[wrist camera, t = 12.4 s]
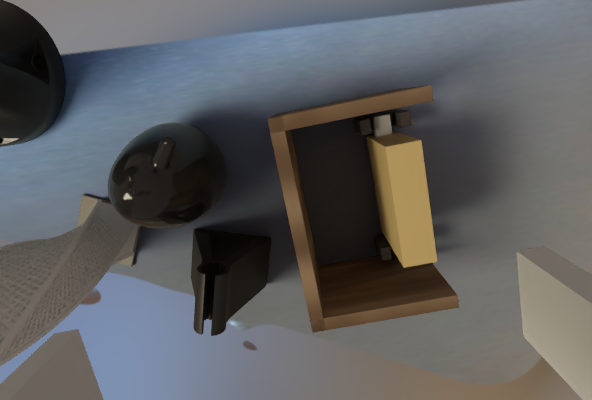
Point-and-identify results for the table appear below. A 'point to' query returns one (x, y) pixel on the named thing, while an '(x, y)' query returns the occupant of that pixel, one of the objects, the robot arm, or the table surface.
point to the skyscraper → (59, 273)
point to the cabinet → (378, 269)
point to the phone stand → (226, 274)
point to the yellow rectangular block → (401, 193)
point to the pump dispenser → (167, 177)
